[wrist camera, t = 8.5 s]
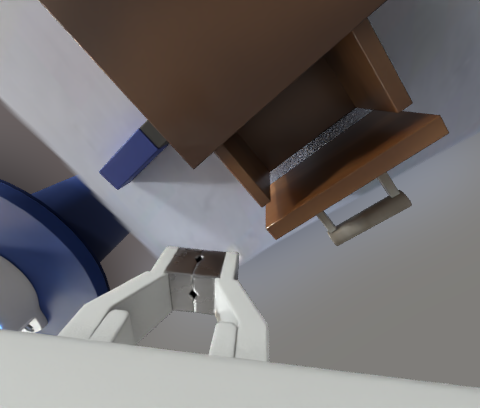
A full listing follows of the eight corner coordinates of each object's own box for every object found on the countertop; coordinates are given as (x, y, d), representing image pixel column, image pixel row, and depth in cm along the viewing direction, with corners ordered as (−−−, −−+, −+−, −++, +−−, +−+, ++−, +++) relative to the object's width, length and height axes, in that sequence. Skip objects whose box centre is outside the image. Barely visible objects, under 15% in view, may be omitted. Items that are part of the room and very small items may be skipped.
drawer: (409, 164, 21) (484, 199, 14) (300, 230, 25) (314, 284, 18) (288, -42, 16) (305, -152, 9) (176, 81, 20) (127, 72, 13)
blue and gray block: (130, 182, 25) (117, 190, 23) (112, 165, 25) (97, 172, 22) (179, 133, 23) (170, 137, 20) (161, 113, 22) (149, 115, 20)
